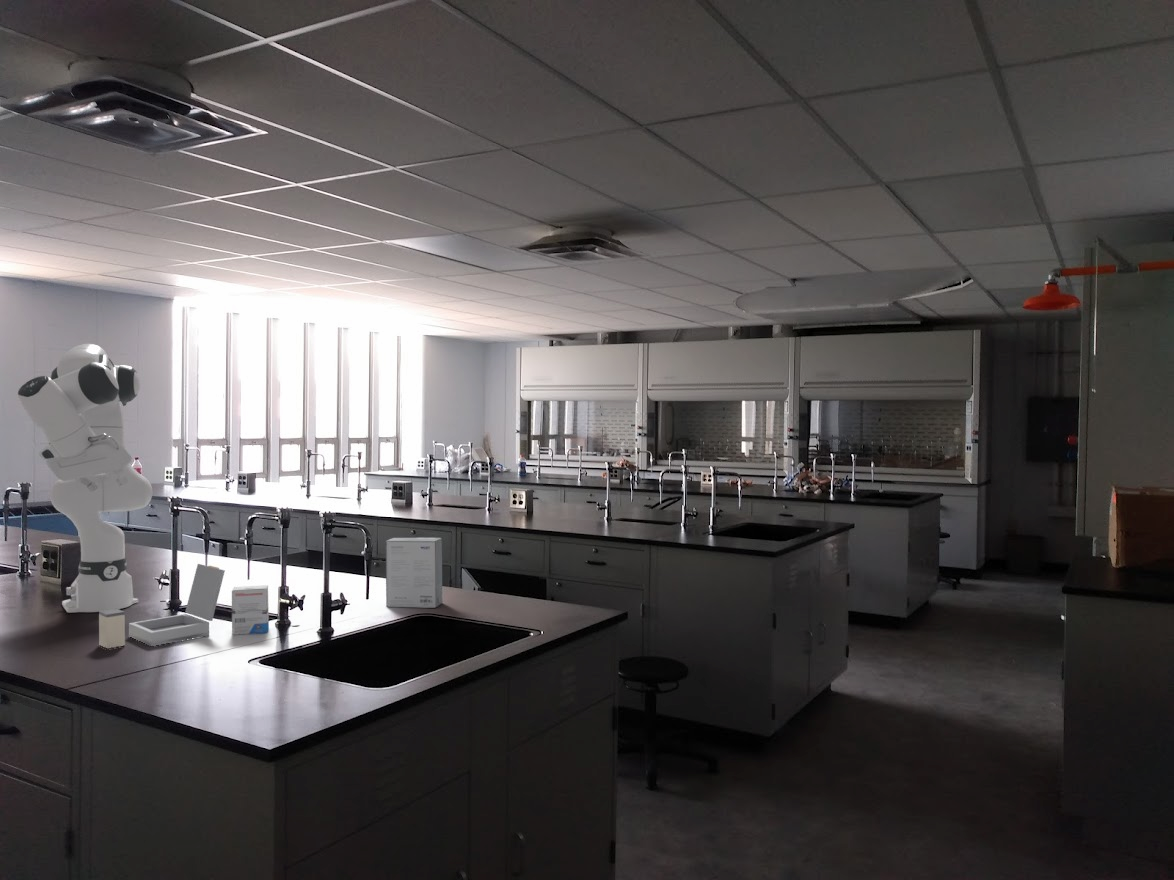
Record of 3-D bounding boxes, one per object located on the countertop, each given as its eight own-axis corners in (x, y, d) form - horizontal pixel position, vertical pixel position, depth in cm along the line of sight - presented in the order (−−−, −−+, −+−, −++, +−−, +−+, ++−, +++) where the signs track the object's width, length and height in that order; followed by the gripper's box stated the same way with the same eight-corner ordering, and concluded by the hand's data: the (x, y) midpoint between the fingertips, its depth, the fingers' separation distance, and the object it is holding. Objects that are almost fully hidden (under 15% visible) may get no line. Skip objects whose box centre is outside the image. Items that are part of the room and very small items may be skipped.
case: (128, 637, 209) (128, 623, 209) (185, 626, 219) (185, 613, 219) (151, 647, 200) (151, 632, 199) (209, 635, 210) (209, 622, 210)
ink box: (269, 628, 218) (269, 584, 218) (267, 633, 213) (267, 588, 213) (234, 630, 216) (234, 586, 215) (231, 635, 211) (231, 590, 211)
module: (99, 646, 200) (98, 611, 200) (117, 642, 203) (116, 608, 203) (106, 649, 197) (106, 614, 197) (124, 646, 200) (124, 611, 200)
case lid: (197, 563, 222) (203, 563, 223) (185, 612, 219) (191, 612, 220) (222, 569, 212) (227, 570, 214) (209, 620, 210) (215, 621, 211)
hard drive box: (443, 603, 250) (443, 537, 249) (436, 608, 242) (436, 541, 242) (393, 601, 251) (393, 536, 251) (384, 607, 244) (384, 540, 243)
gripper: (117, 425, 194) (150, 472, 201) (51, 441, 199) (85, 485, 206) (100, 440, 189) (135, 487, 196) (33, 455, 194) (69, 501, 201)
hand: (109, 486), depth 201 cm, fingers open, 8 cm apart
